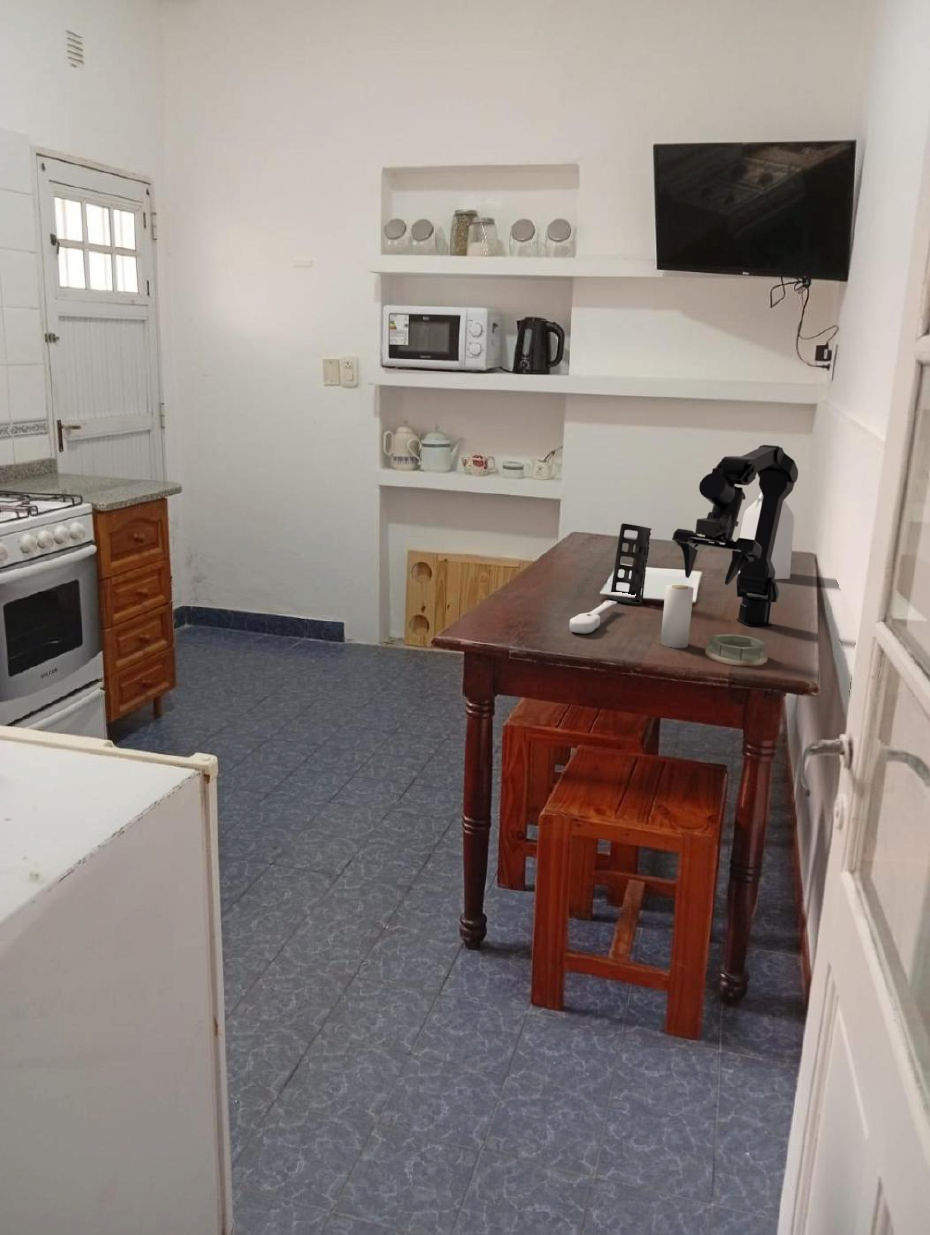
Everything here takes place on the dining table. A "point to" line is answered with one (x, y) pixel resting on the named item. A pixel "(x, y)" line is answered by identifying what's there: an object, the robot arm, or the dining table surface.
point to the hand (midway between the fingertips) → (706, 581)
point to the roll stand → (737, 650)
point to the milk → (782, 540)
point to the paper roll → (676, 616)
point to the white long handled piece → (589, 619)
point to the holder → (638, 563)
